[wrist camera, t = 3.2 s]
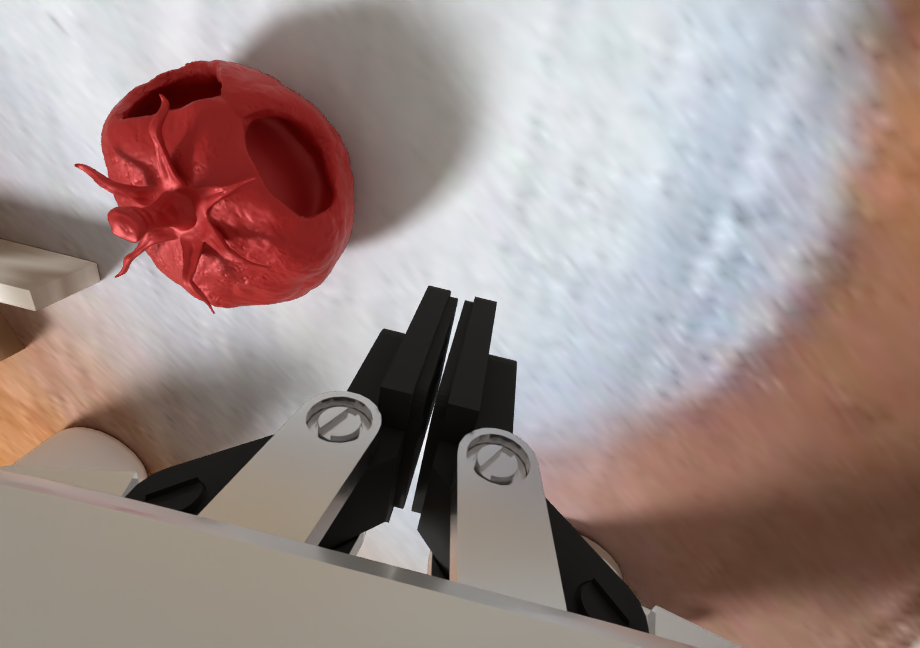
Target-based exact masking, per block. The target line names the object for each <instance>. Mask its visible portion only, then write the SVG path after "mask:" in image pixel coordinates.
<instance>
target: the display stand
mask: <svg viewBox="0 0 920 648" xmlns="http://www.w3.org/2000/svg"><path fill="white" fill-rule="evenodd" d="M98 282H100V277H99V272H98V268H97V263H95V262H91V261H87V260H83V259H79V258H75V257H71V256H67V255H63V254H59V253H55V252H51V251H47V250H43V249H39V248H35V247H31V246H27V245H23V244H19V243H15V242H11V241H7V240H3V239H0V302H1V303H5V304H9V305H13V306H17V307H21V308H25V309H29V310H33V311H38V310H40V309H42V308H44V307H46V306H49V305H51V304H53V303H55V302H57V301H59V300H62V299H64V298H66V297H68V296H70V295H72V294H74V293H77V292H79V291H81V290H83V289H85V288H87V287H90V286H92V285H94V284H96V283H98Z"/></svg>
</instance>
